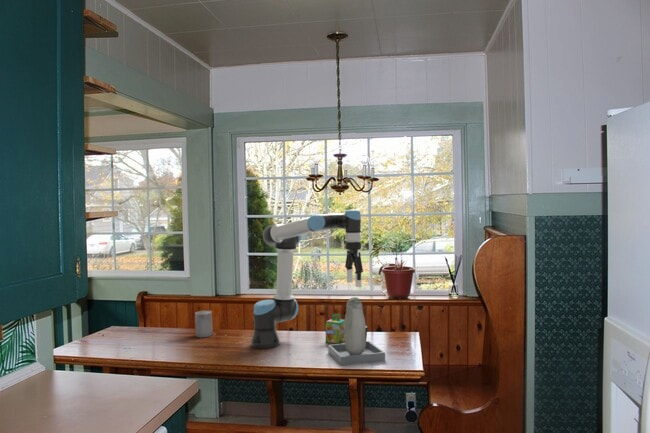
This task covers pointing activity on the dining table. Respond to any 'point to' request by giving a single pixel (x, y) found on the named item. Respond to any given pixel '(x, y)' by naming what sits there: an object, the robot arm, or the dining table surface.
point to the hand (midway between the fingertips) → (354, 284)
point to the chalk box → (335, 330)
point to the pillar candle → (203, 323)
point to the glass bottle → (354, 327)
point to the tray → (367, 356)
